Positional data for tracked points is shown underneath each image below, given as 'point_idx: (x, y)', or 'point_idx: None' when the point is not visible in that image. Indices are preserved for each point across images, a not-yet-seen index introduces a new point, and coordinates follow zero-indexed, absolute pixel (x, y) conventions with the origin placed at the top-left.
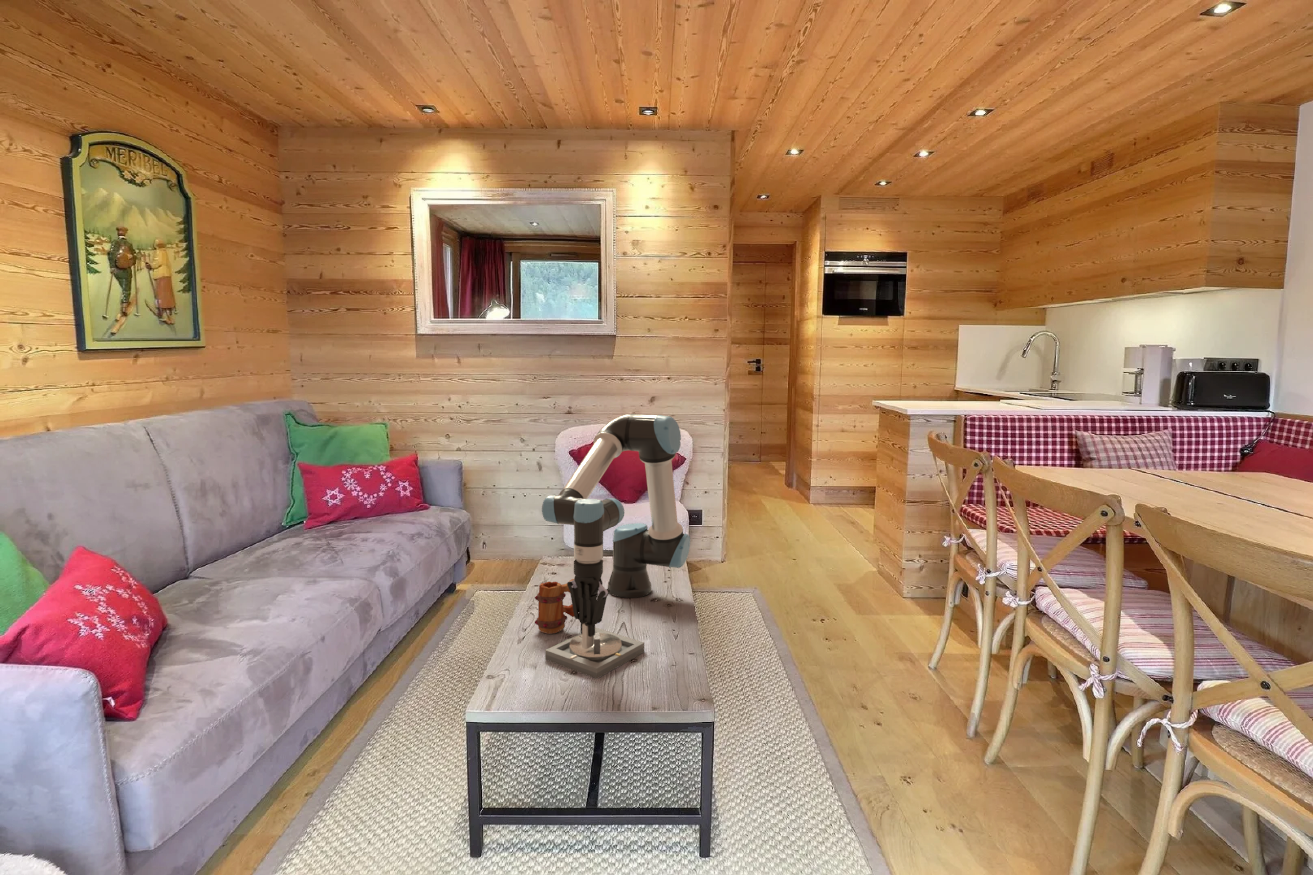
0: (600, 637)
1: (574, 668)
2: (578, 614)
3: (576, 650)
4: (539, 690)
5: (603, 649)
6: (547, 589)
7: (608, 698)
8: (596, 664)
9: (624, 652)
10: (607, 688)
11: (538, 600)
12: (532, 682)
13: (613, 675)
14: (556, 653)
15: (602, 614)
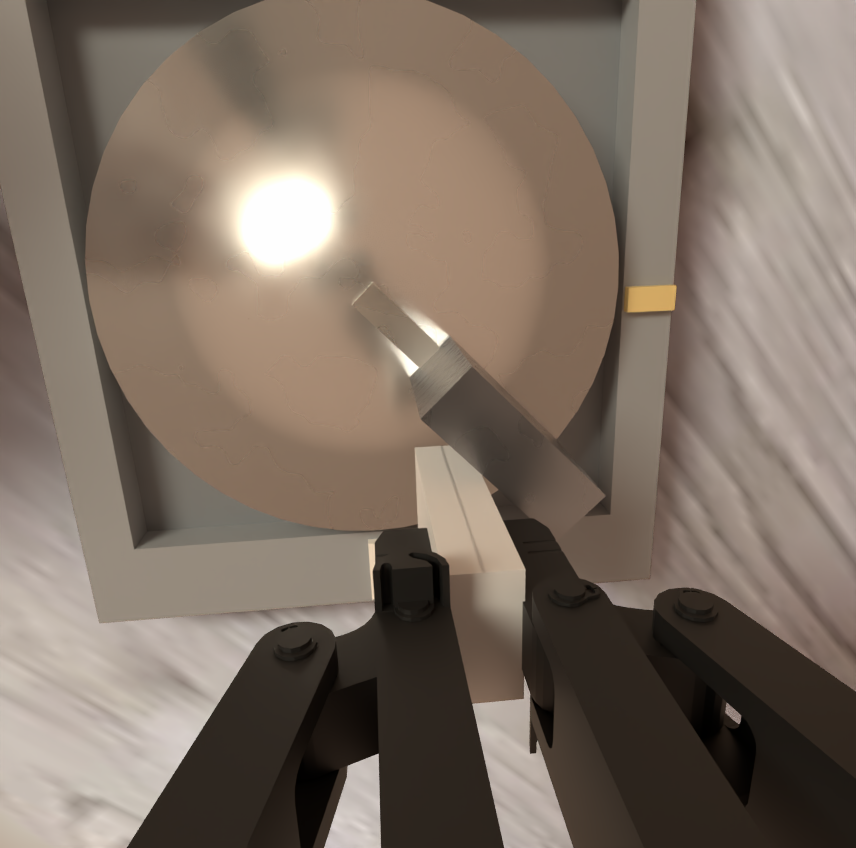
0: (295, 145)
1: None
2: (334, 779)
3: (346, 521)
4: None
5: (522, 354)
6: None
7: (815, 651)
8: (607, 537)
9: (665, 215)
10: (748, 580)
11: None
12: (340, 798)
13: (683, 436)
14: (220, 604)
15: (833, 691)
